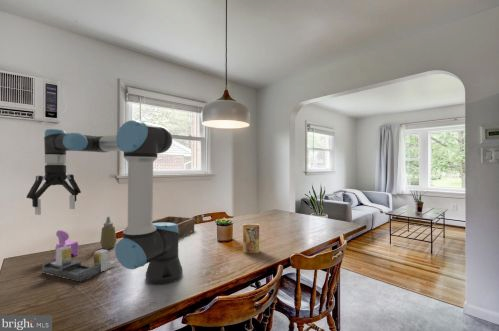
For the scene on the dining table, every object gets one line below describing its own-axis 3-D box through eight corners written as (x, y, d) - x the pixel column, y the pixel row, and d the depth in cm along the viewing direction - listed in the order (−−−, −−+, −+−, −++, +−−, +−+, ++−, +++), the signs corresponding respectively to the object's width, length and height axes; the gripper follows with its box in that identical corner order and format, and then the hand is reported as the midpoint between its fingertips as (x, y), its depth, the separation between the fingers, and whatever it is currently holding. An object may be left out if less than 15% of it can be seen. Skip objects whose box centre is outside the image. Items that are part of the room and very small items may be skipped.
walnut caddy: (194, 230, 175) (194, 218, 175) (165, 244, 145) (165, 229, 145) (168, 227, 182) (168, 215, 182) (136, 240, 153) (136, 226, 153)
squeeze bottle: (114, 244, 145) (114, 214, 145) (118, 247, 139) (118, 216, 139) (98, 247, 139) (98, 216, 139) (102, 251, 133) (102, 219, 133)
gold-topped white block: (109, 264, 116) (109, 246, 116) (115, 266, 114) (115, 247, 114) (93, 272, 108) (93, 252, 108) (99, 273, 107) (99, 253, 107)
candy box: (258, 250, 135) (258, 223, 135) (259, 253, 131) (259, 225, 131) (243, 250, 135) (243, 223, 135) (243, 253, 131) (243, 225, 131)
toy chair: (80, 255, 128) (80, 227, 127) (63, 261, 119) (63, 231, 119) (69, 253, 130) (68, 226, 130) (51, 259, 122) (51, 230, 122)
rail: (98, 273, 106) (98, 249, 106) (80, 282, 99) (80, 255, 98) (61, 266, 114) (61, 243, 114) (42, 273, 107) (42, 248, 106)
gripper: (79, 164, 120) (79, 206, 121) (15, 164, 97) (15, 216, 98) (89, 164, 118) (89, 207, 118) (25, 164, 94) (26, 218, 95)
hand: (56, 211), depth 108 cm, fingers open, 13 cm apart
